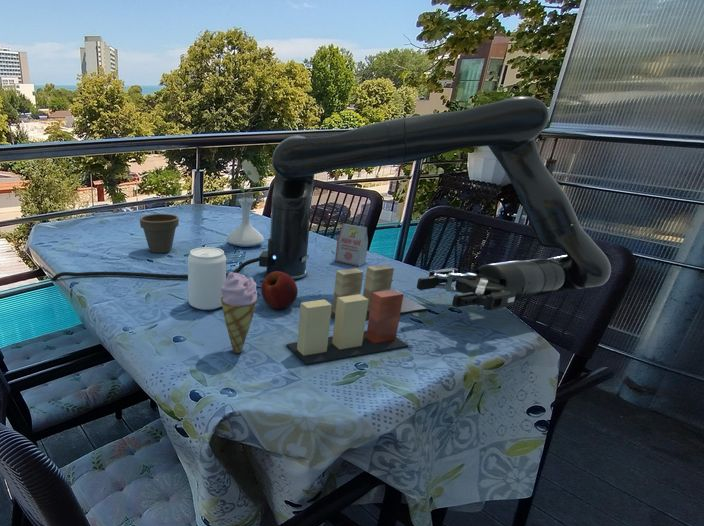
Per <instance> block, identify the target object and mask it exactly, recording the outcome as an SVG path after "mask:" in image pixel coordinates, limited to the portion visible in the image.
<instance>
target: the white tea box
mask: <svg viewBox="0 0 704 526" xmlns="http://www.w3.org/2000/svg"><path fill="white" fill-rule="evenodd" d="M368 246H369V237H368V227H366V226H359V225H353V224H347V223H341V227H340V230H339V233H338V237H337V239H336V248H335V257H334V261H335V262H338V263H342V264H346V265H351V266H355V267H361V266H362V265H364V264H366V260H367V253H368Z"/></svg>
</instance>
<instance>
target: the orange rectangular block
mask: <svg viewBox="0 0 704 526" xmlns="http://www.w3.org/2000/svg"><path fill="white" fill-rule="evenodd" d="M403 296H404V293H402V292H400V291H399V290H397V289H390V290H386V291H379V292H373V293H372V300H371V307H370V314H369V319H368V321H367V329H366V331H367V334H366V338H367V339H369V340H370V341H371V342H373V343H374V344H375V343H380V342H386V341H392V340H396V338H397V334H398V328H399V323H400V318H401V314H400V312H401V307H402V301H403Z"/></svg>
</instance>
